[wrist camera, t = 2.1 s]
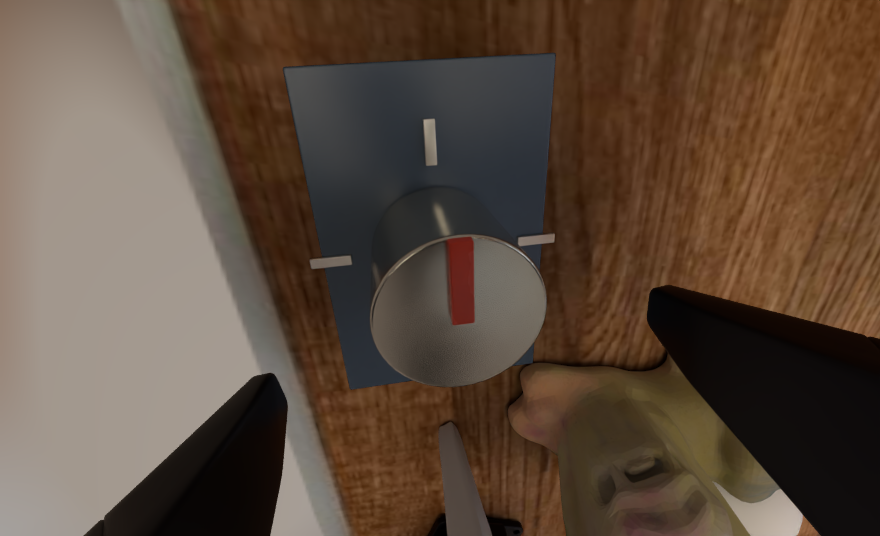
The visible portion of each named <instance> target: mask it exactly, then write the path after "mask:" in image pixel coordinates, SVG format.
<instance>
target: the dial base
mask: <svg viewBox="0 0 880 536" xmlns="http://www.w3.org/2000/svg"><path fill="white" fill-rule="evenodd" d="M555 57H556V54H555V53H542V54H523V55H504V56H484V57H465V58H446V59H427V60H407V61H388V62H369V63H350V64H330V65H311V66H292V67H283V73H284V77H285V82H286V87H287V92H288V96H289V101H290V106H291V111H292V116H293V120H294V125H295V130H296V135H297V139H298V144H299V149H300V154H301V158H302V163H303V168H304V173H305V178H306V182H307V187H308V192H309V197H310V201H311V206H312V211H313V216H314V220H315V225H316V230H317V235H318V239H319V244H320V249H321V254H322V257H317V258H310V260H309V261H310V265H311V269H317V268H325V273H326V278H327V282H328V287H329V292H330V297H331V301H332V306H333V311H334V316H335V321H336V325H337V330H338V335H339V340H340V344H341V349H342V354H343V359H344V363H345V368H346V373H347V378H348V383H349V387H350V389H351V390H352V389H359V388H366V387H372V386H379V385H386V384H393V383H400V382H407V381H413V380H411V379H409V378H407V377H405V376H403V375H402V374H400V373H399V372H397V371H396V370H395V369H393V368H392V367H391V366H390V365H389V364H388V363H387V362H386V360H385V359H384V358H383V357H382V356H381V354H380V352H379V351H378V349H377V348H376V345H375V343H374V341H373V338H372V334H371V330H370V282H371V248H372V239H373V235H374V232H375V229H376V226H377V224H378V223H379V221H380V219H381V217H382V216H383V215H384V213H385V212H386V211H387V210H388V209H389V208H390V207H391V206H392V205H393V204H394V203H395V202H396V201H398V200H399V199H401V198H402V197H404V196H406V195H407V194H410V193H412V192H414V191H417V190H421V189H424V188H430V187H448V188H454V189H458V190H461V191H463V192H466V193H468V194H470V195H472V196H473V197H475V198H476V199H478V200H479V201H480V202H481V203H482V204H483V205H484V206H485V207H486V208H487V209H488V210H489V211H490V212H491V213H492V215H493V216H494V217H495V218H496V219H497V220H498V221H499V223H500V224H501V225H502V226H503V227H504V228H505V230H506V231H507V232H508V233H509V234H510V235H511V236H512V238H513V239H514V240H515V241H516V242H517V243H518V244H519V246H520V247H521V248H522V249H523V250H524V251H525V252H526V254H527V255H528V256H529V257H530V258H531V259H532V261H533V262H534V263H535V265H536V266H537V268H538V269H539V271H540V258H541V245H542V244H544V243H553V242H554V238H555V233H554V232H551V233H542V232H543V218H544V205H545V191H546V178H547V164H548V151H549V137H550V124H551V110H552V97H553V84H554V70H555ZM533 353H534V343H533V345H532V346H531V347H530V349H529V350H528V351H527V352H526V353H525V354H524V355H523V356H522V358H521V359H520V360H518V361H517V362H516V363H515V364H514V365H512V366H516V365H523V364H530V363H533Z"/></svg>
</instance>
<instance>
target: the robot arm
mask: <svg viewBox="0 0 880 536" xmlns="http://www.w3.org/2000/svg"><path fill="white" fill-rule="evenodd" d="M647 321H648V324H649V326H650V328H651V329H652V331H653V332H654V334H655V335H656V336H657V338H658V339H659V341H660V342H661V344H662V345H663V346H664V348H665V349H666V351H667V352H668V354H669V355H670V357H671V358H672V359H673V361H674V362H675V364H676V365H677V367H678V368H679V369H680V371H681V372H682V373H683V375H684V376H685V377H686V379H687V380H688V381H689V382H690V384H691V385H692V386H693V387H694V388H695V390H696V391H697V392H698V393H699V394H700V395H701V397H702V398H703V399H704V400H705V401H706V402H707V404H708V405H709V406H710V407H711V408H712V409H713V411H714V412H715V413H716V414H717V415H718V416H719V418H720V419H721V420H722V421H723V422H724V423H725V425H726V426H727V427H728V428H729V429H730V430H731V432H732V433H733V434H734V435H735V436H736V437H737V439H738V440H739V441H740V442H741V443H742V444H743V446H744V447H745V448H746V449H747V450H748V451H749V453H750V454H751V455H752V456H753V457H754V458H755V460H756V461H757V462H758V463H759V464H760V465H761V467H762V468H763V469H764V470H765V471H766V472H767V474H768V475H769V476H770V477H771V478H772V479H773V481H774V482H775V483H776V484H777V485H778V486H779V487H780V489H781V490H782V491H783V492H784V493H785V494H786V496H787V497H788V498H789V499H790V500H791V501H792V503H793V504H794V505H795V506H796V507H797V508H798V510H799V511H800V512H801V513H802V514H803V515H804V517H805V518H806V519H807V520H808V521H809V522H810V524H811V525H812V526H813V527H814V528H815V529H816V531H817V532H818V533H819V534H820V535H821V536H880V339H878V338H874V337H868V338H867V337H866V336H865V335H862V334H858V333H854V332H850V331H847V330H843V329H839V328H835V327H831V326H827V325H823V324H819V323H815V322H812V321H808V320H804V319H800V318H796V317H792V316H788V315H784V314H781V313H777V312H773V311H769V310H765V309H761V308H757V307H753V306H749V305H746V304H742V303H738V302H734V301H730V300H726V299H722V298H718V297H715V296H711V295H707V294H703V293H699V292H695V291H691V290H687V289H683V288H680V287H676V286H672V285H666V286H661V287H657V288H653V289H652V290H651V291H650V294H649V302H648V311H647ZM287 412H288V404H287V400H286V397H285V395H284V393H283V390H282V388H281V386H280V384H279V382H278V380H277V378H276V376H275V375H274V374H273V373H266V374H262V375H257V376H254V377H253V378H251V379H250V380H249V381H248V382H247V383H246V384H245V385H244V386H243V387H242V388H241V389H240V390H238V391H237V392H236V393H235V394H234V395H233V396H232V397H231V398H230V399H229V400H228V401H227V402H226V403H225V404H224V405H223V406H221V407H220V408H219V409H218V410H217V411H216V412H215V413H214V414H213V415H212V416H211V417H210V418H209V419H208V420H207V421H205V423H203V424H202V425H201V426H200V427H199V428H198V429H197V430H196V431H195V432H194V433H193V434H192V435H191V436H190V437H189V438H188V439H186V440H185V441H184V442H183V443H182V444H181V445H180V446H179V447H178V448H177V449H176V450H175V451H174V452H173V453H171V454H170V455H169V456H168V457H167V458H166V459H165V460H164V461H163V462H162V463H161V464H160V465H159V466H158V467H156V468H155V469H154V470H153V471H152V472H151V473H150V474H149V475H148V476H147V477H146V478H145V479H144V480H143V481H142V482H141V483H139V484H138V485H137V486H136V487H135V488H134V489H133V490H132V491H131V492H130V493H129V494H128V495H127V496H126V497H124V498H123V499H122V500H121V501H120V502H119V503H118V504H117V505H116V506H115V507H114V508H113V509H112V510H111V511H110V512H109V513H107V514H106V515H105V517H104V520H100V521H99V522H98V523H97V524H96V525H95V526H94V527H92V528H91V529H90V530H89V531H88V532H87V533H86V534H85V535H84V536H270V534H271V529H272V524H273V518H274V514H275V509H276V503H277V498H278V493H279V488H280V483H281V477H282V470H283V459H284V448H285V436H286V424H287ZM487 521H488V524H489V527H490V530H491V533H492V536H520V535H521V534H522V532H523V528H522V525H521V523H520V522H514V521H501V520H489V519H487ZM428 536H447V524H446V516H442V517H440V518H438V519H437V521H436V522H435V524H434V526H433V528H432V530H431V531H430V533H429V535H428Z"/></svg>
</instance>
